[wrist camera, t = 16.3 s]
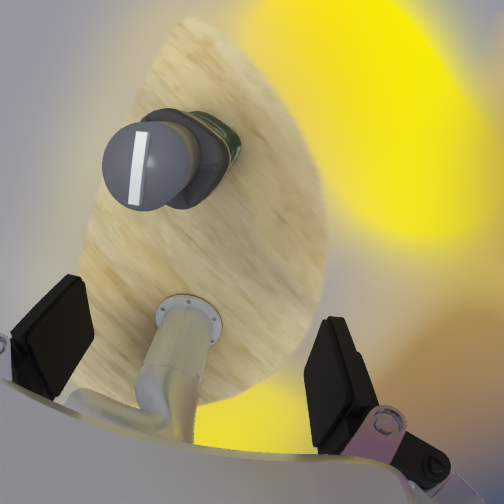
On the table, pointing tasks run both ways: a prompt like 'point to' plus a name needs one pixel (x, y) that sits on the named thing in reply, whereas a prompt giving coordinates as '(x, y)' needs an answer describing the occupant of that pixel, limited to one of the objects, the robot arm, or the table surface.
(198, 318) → the robot arm
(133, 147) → the lid
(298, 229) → the table surface
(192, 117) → the coffee jar
